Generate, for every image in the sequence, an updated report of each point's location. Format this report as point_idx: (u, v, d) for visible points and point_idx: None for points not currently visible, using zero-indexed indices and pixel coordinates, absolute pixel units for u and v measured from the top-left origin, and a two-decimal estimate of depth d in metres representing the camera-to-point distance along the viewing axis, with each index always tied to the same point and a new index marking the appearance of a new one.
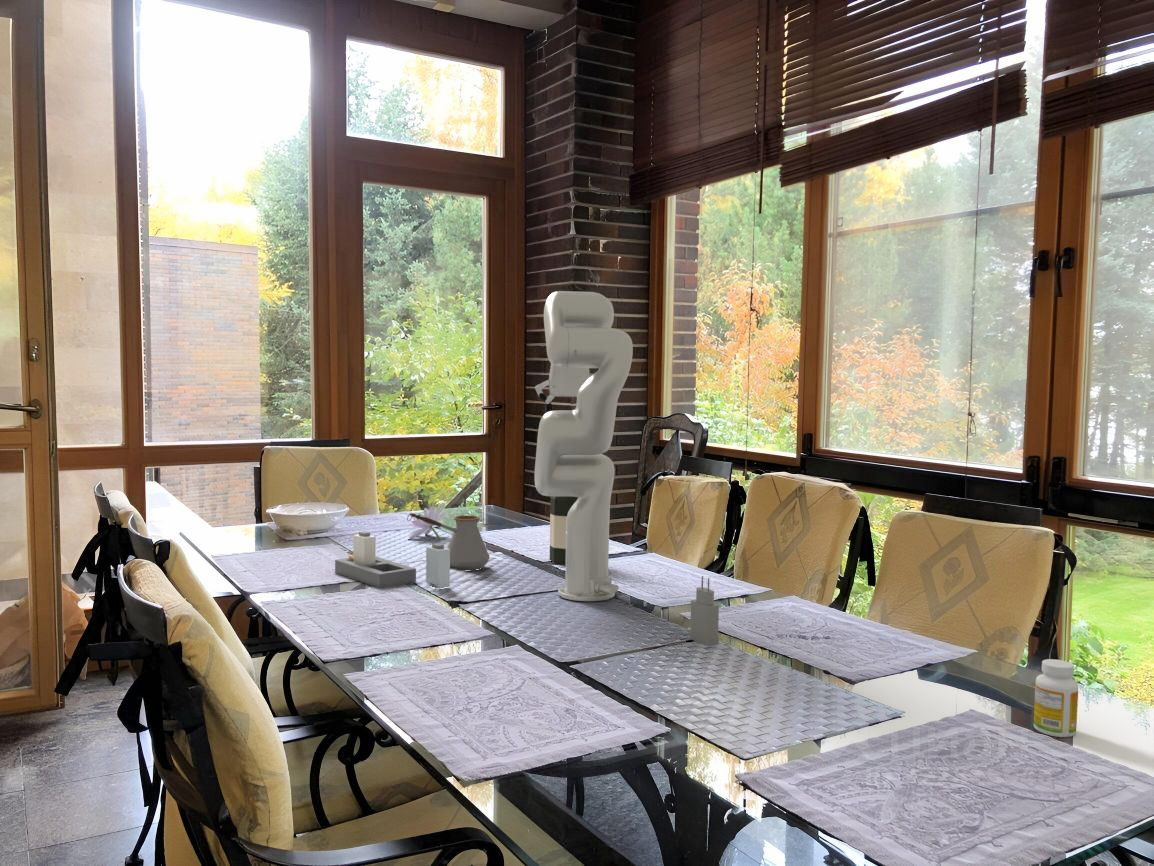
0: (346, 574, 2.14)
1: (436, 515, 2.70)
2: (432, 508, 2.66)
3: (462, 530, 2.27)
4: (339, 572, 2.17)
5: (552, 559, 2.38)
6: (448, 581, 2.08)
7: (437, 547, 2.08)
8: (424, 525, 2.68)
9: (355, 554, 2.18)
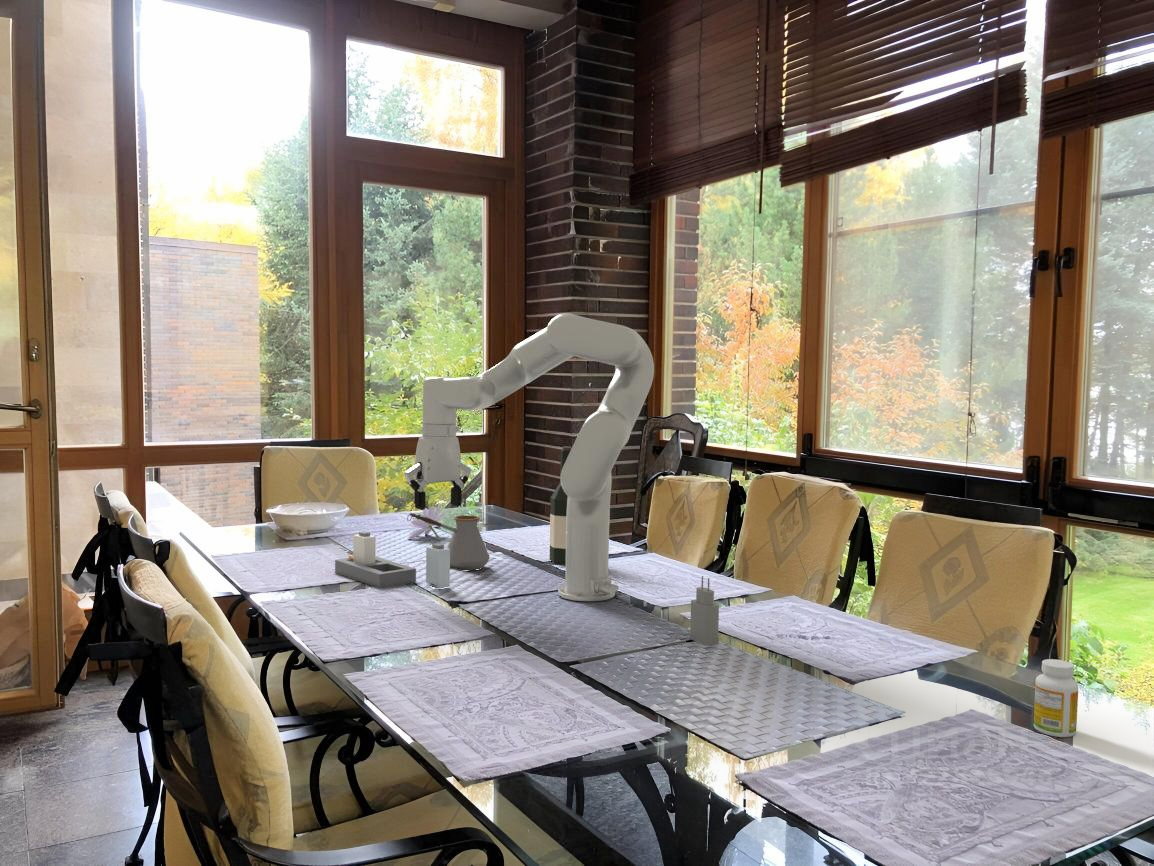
0: (346, 574, 2.14)
1: (436, 515, 2.70)
2: (431, 508, 2.66)
3: (462, 530, 2.27)
4: (339, 572, 2.17)
5: (552, 559, 2.38)
6: (448, 581, 2.08)
7: (437, 547, 2.08)
8: (424, 525, 2.67)
9: (355, 554, 2.18)
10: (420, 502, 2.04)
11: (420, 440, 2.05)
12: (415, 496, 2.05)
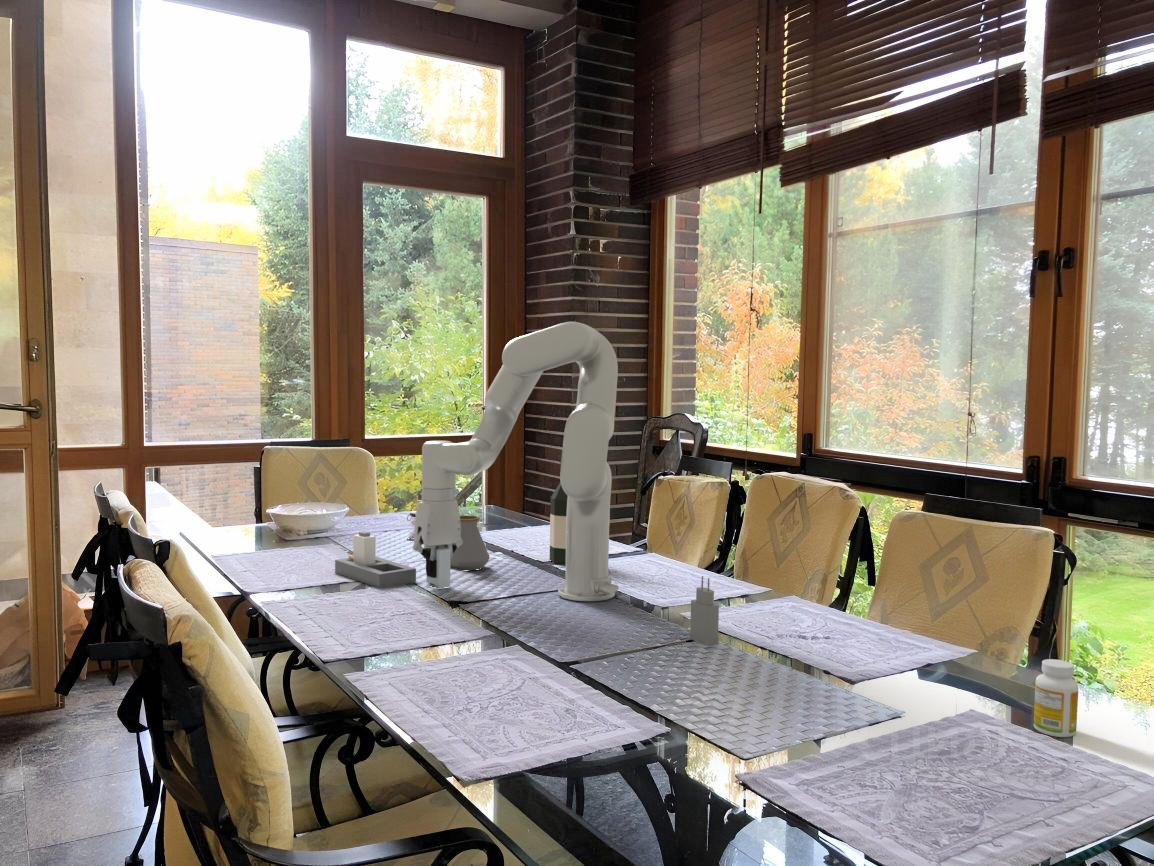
0: (346, 574, 2.14)
1: None
2: None
3: (462, 530, 2.27)
4: (339, 572, 2.17)
5: (552, 559, 2.38)
6: (449, 581, 2.09)
7: (438, 547, 2.08)
8: None
9: (355, 554, 2.18)
10: (431, 570, 2.07)
11: (420, 505, 2.06)
12: (426, 564, 2.08)
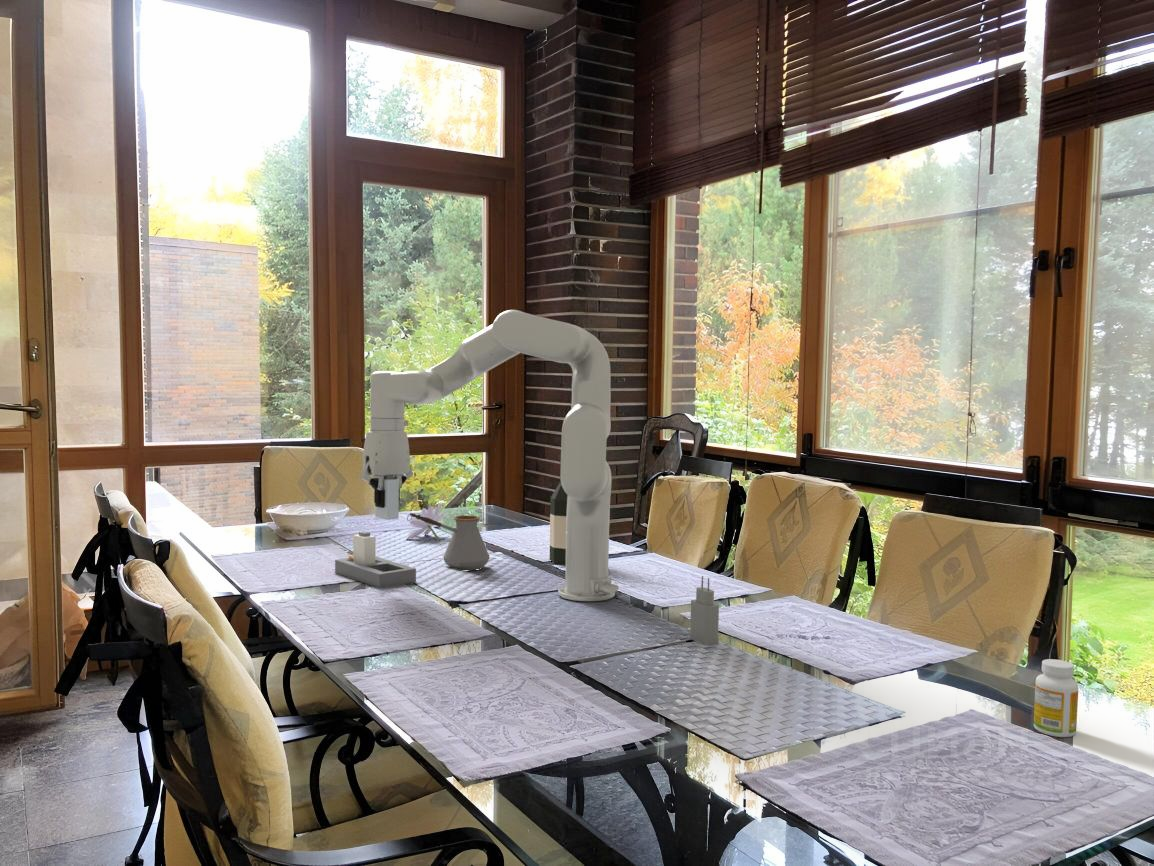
0: (346, 574, 2.14)
1: (435, 515, 2.69)
2: (430, 508, 2.66)
3: (462, 530, 2.27)
4: (339, 572, 2.17)
5: (552, 559, 2.38)
6: (397, 511, 2.09)
7: (386, 477, 2.08)
8: (422, 525, 2.67)
9: (355, 554, 2.18)
10: (380, 500, 2.07)
11: (368, 434, 2.06)
12: (375, 494, 2.08)
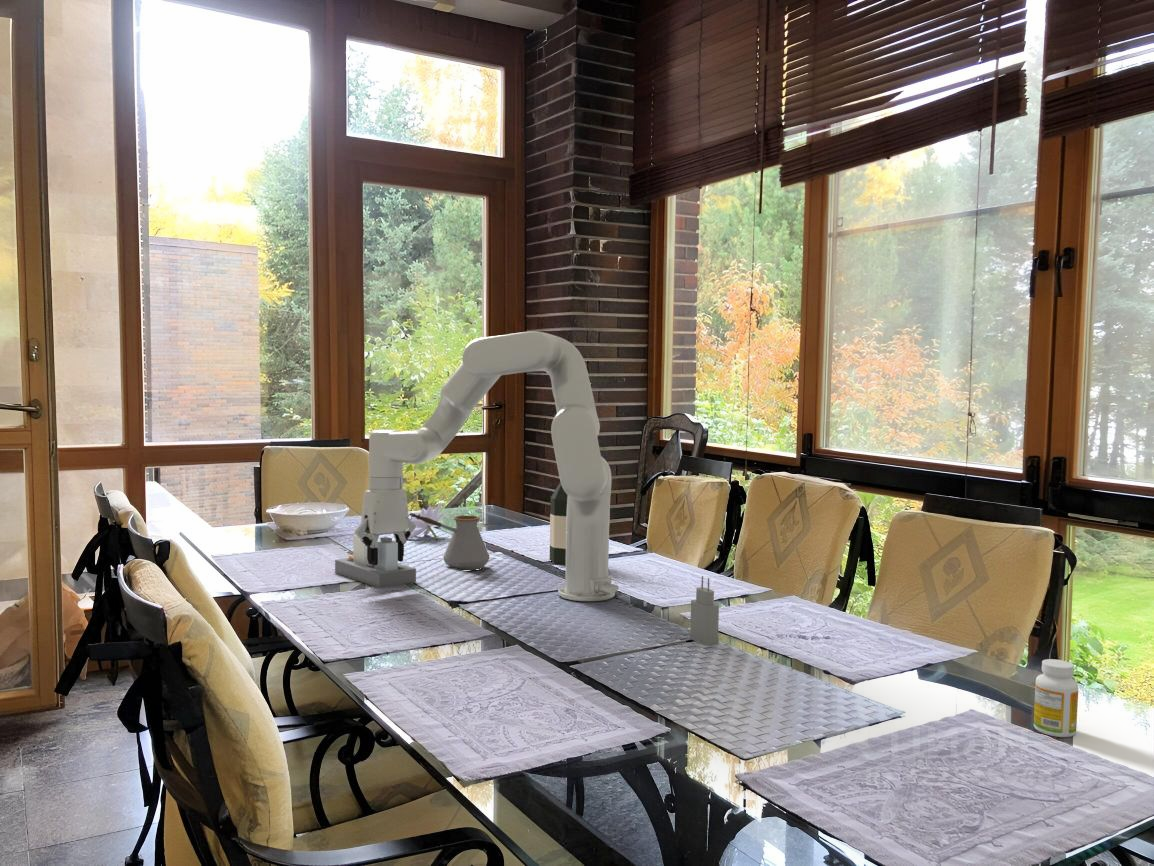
0: (346, 574, 2.14)
1: (434, 515, 2.69)
2: (429, 508, 2.65)
3: (462, 530, 2.27)
4: (339, 572, 2.17)
5: (552, 559, 2.38)
6: None
7: (385, 540, 2.09)
8: (422, 525, 2.67)
9: (355, 554, 2.18)
10: (372, 558, 2.07)
11: (366, 493, 2.07)
12: (368, 552, 2.08)
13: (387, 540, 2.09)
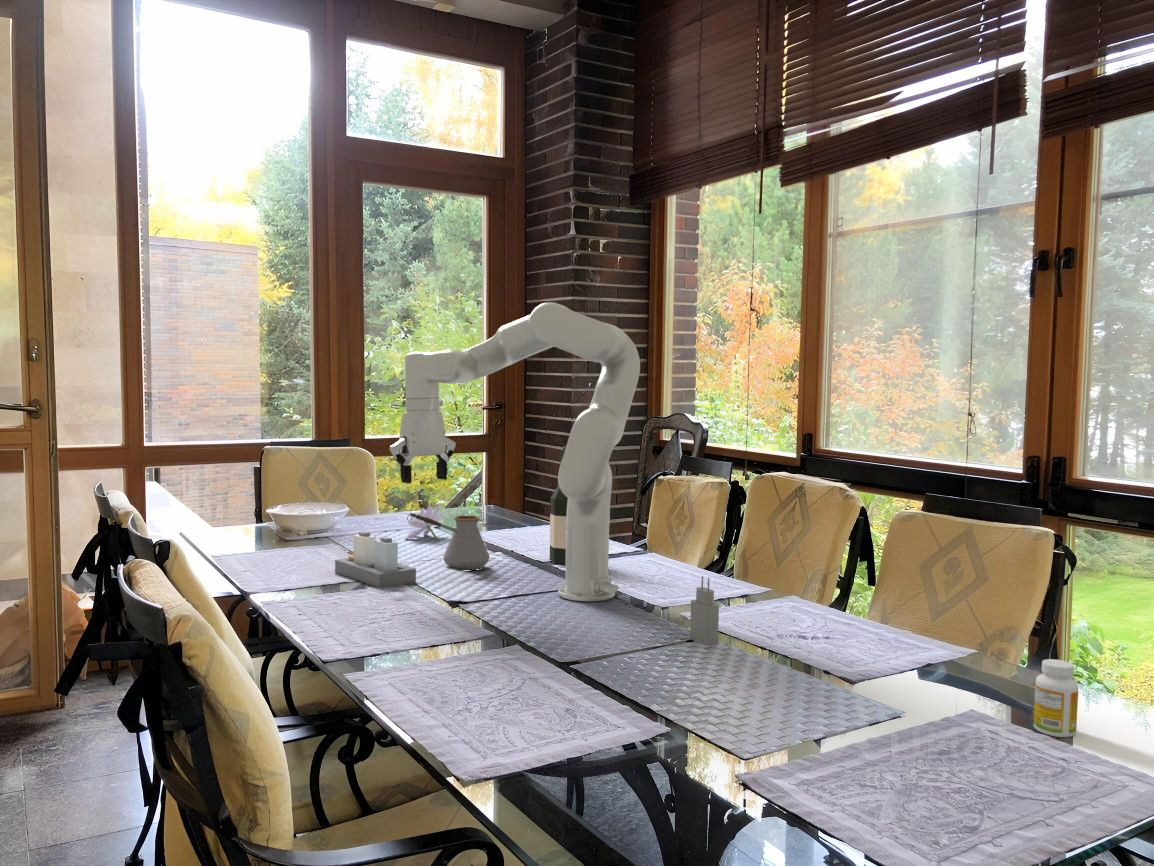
0: (346, 574, 2.14)
1: (434, 515, 2.69)
2: (429, 508, 2.65)
3: (462, 530, 2.27)
4: (339, 572, 2.17)
5: (552, 559, 2.38)
6: None
7: (385, 540, 2.09)
8: (421, 525, 2.67)
9: (355, 554, 2.18)
10: (406, 476, 2.07)
11: (404, 415, 2.07)
12: (401, 470, 2.07)
13: (387, 540, 2.09)
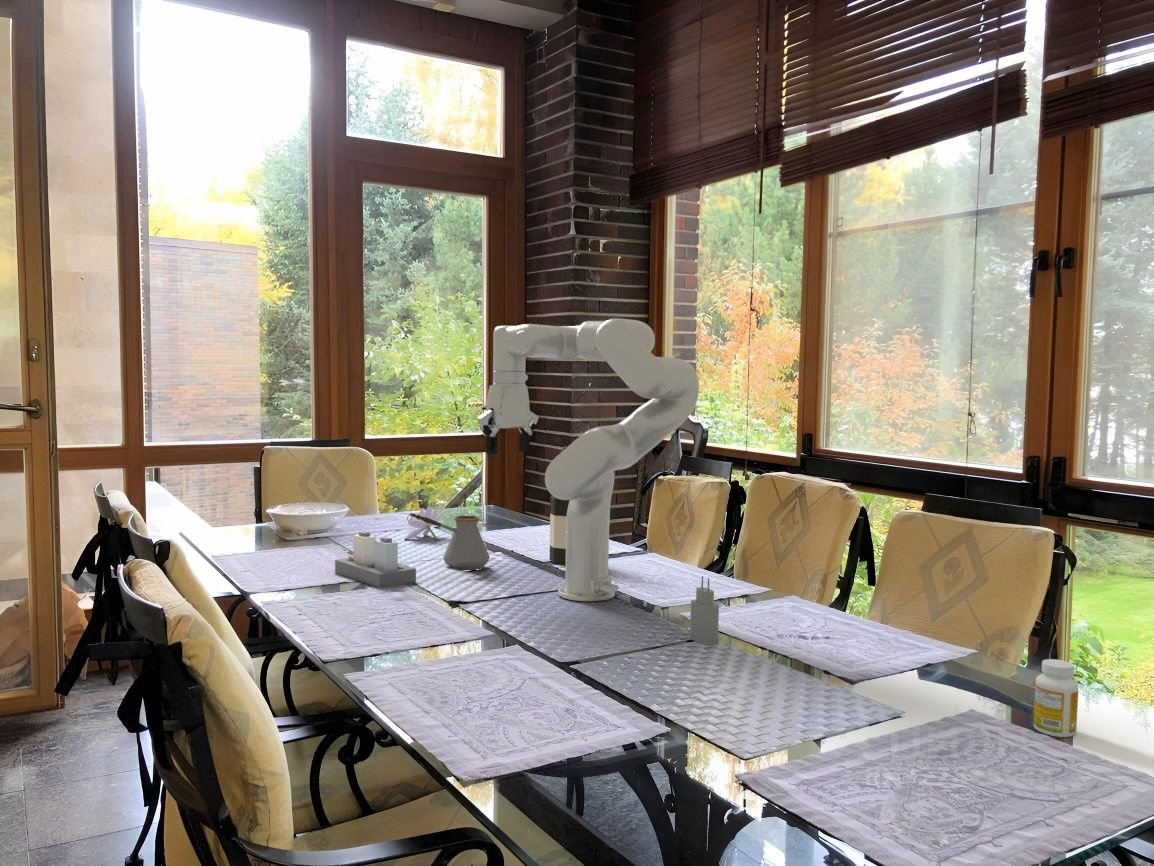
0: (346, 574, 2.14)
1: (433, 516, 2.69)
2: (428, 508, 2.65)
3: (462, 530, 2.27)
4: (339, 572, 2.17)
5: (552, 559, 2.38)
6: None
7: (385, 540, 2.09)
8: (421, 525, 2.67)
9: (355, 554, 2.18)
10: (492, 447, 2.11)
11: (491, 387, 2.11)
12: (487, 441, 2.11)
13: (387, 540, 2.09)
